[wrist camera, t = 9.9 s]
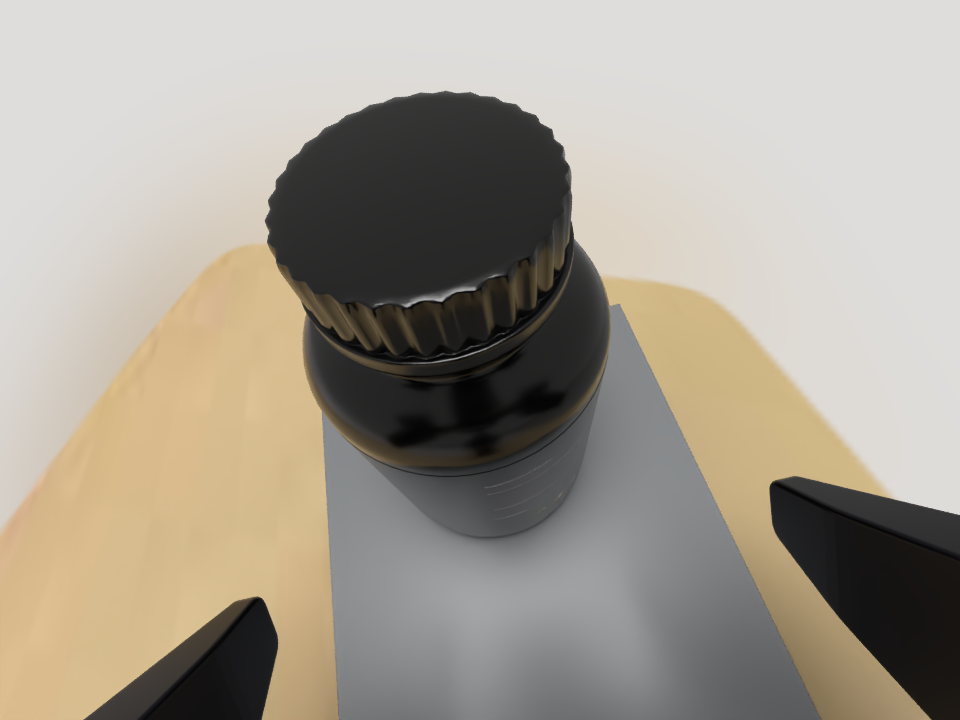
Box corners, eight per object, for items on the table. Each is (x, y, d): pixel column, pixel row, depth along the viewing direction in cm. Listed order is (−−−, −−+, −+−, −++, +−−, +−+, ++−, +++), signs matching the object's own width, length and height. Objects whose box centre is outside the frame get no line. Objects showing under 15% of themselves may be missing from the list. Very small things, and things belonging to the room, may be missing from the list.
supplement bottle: (363, 447, 18) (124, 197, 8) (491, 336, 20) (434, 15, 10) (488, 591, 15) (366, 492, 5) (624, 444, 17) (747, 146, 7)
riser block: (793, 748, 15) (846, 771, 12) (383, 858, 14) (349, 907, 12) (611, 341, 23) (619, 303, 20) (346, 410, 22) (320, 380, 20)
